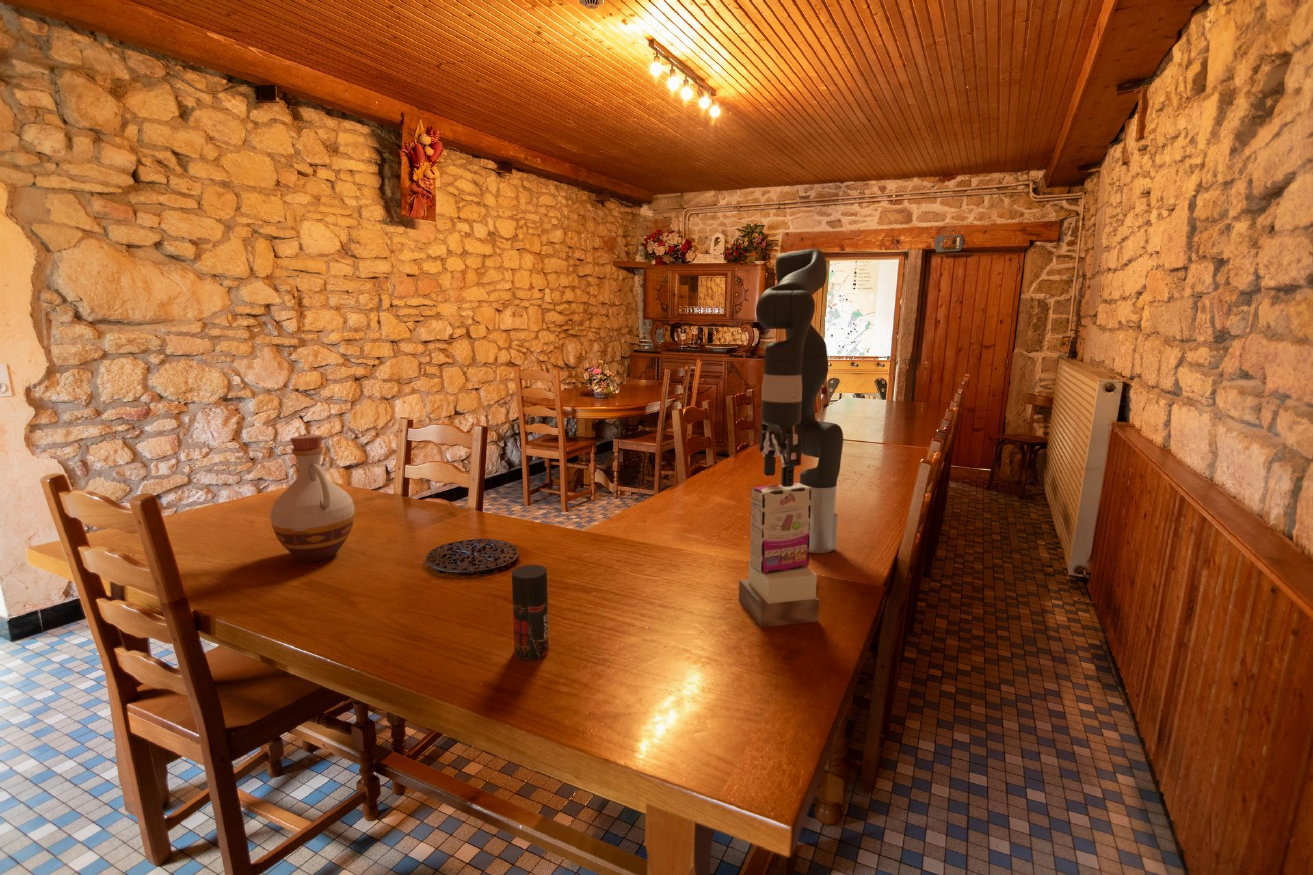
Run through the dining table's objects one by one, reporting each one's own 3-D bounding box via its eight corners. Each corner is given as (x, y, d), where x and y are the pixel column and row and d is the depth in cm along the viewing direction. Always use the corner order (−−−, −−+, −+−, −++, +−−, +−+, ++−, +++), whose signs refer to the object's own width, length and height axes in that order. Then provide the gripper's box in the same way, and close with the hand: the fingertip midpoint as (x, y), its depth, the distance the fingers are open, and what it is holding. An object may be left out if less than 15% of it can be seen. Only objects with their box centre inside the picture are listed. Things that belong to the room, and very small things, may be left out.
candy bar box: (794, 558, 127) (798, 481, 124) (809, 567, 123) (813, 487, 120) (747, 566, 123) (750, 486, 120) (761, 575, 118) (764, 492, 116)
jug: (372, 557, 150) (363, 436, 145) (291, 578, 137) (278, 447, 132) (341, 537, 163) (332, 426, 158) (265, 555, 150) (251, 435, 145)
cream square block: (792, 578, 130) (793, 556, 129) (815, 598, 120) (817, 574, 119) (748, 582, 127) (749, 559, 126) (768, 603, 118) (769, 579, 117)
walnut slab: (791, 597, 132) (792, 575, 131) (817, 623, 121) (819, 599, 120) (738, 602, 129) (739, 579, 128) (760, 629, 118) (761, 605, 117)
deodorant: (516, 643, 111) (514, 564, 108) (550, 642, 111) (548, 564, 109) (512, 661, 105) (509, 578, 102) (547, 659, 105) (545, 577, 103)
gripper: (817, 402, 111) (812, 489, 114) (784, 393, 125) (780, 471, 128) (778, 403, 109) (774, 491, 112) (749, 394, 123) (746, 472, 126)
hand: (777, 480), depth 120 cm, fingers open, 8 cm apart
